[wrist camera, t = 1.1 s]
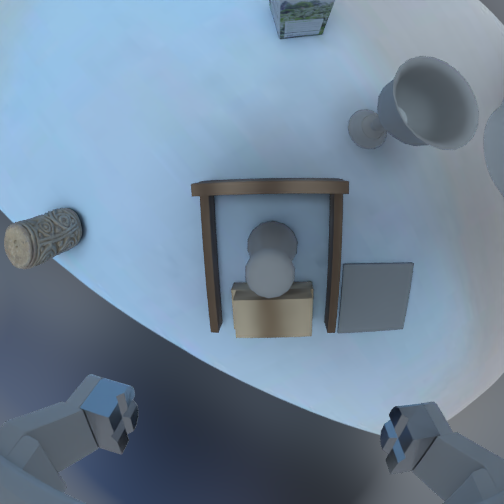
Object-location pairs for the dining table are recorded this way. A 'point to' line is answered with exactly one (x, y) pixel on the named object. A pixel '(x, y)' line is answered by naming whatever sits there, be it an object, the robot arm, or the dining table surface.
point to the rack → (270, 187)
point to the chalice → (420, 108)
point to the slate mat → (374, 296)
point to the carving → (42, 237)
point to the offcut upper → (273, 314)
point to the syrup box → (300, 16)
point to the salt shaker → (271, 259)
